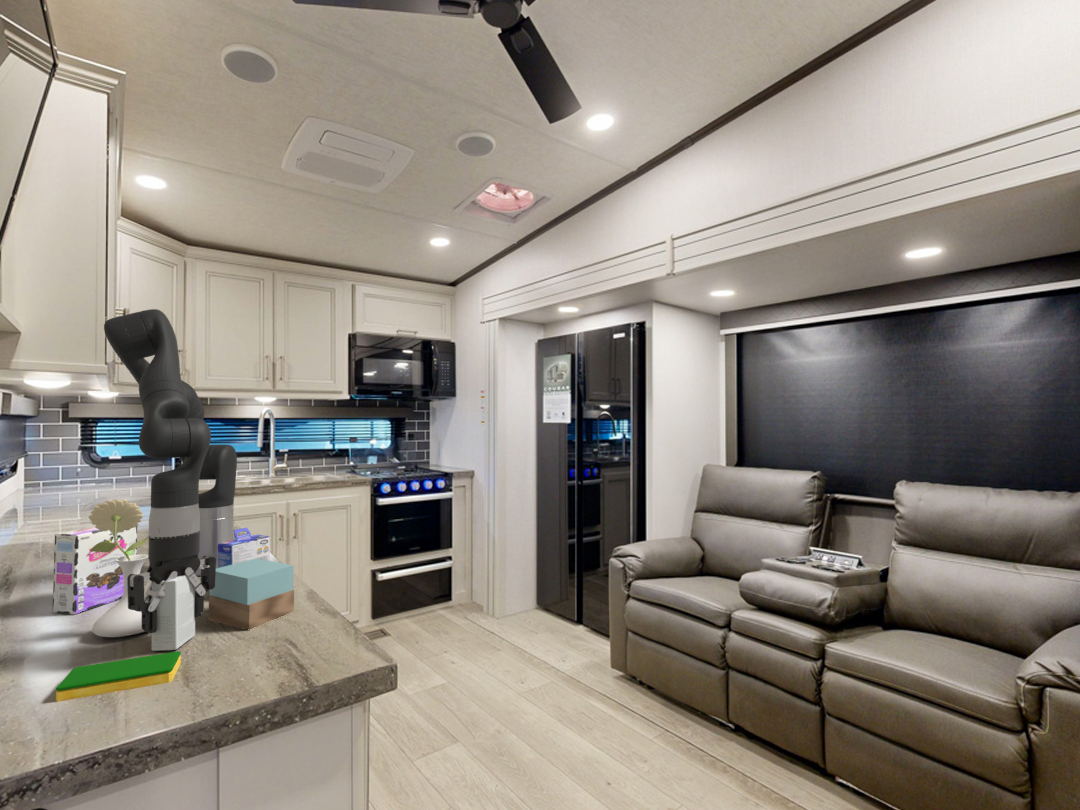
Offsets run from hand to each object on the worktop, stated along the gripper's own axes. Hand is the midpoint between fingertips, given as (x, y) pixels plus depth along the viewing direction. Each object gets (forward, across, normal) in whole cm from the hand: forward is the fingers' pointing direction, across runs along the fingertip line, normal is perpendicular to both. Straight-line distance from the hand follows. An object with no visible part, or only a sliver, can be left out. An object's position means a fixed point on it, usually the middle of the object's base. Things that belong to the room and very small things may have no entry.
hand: (173, 623), depth 94 cm
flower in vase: (+4, 0, -15) cm, 15 cm away
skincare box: (+4, 0, 0) cm, 4 cm away
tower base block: (+4, -15, 0) cm, 16 cm away
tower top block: (-1, -15, 0) cm, 15 cm away
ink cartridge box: (+4, -25, -15) cm, 29 cm away
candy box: (+4, -7, -38) cm, 39 cm away
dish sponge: (+4, +11, +6) cm, 13 cm away
